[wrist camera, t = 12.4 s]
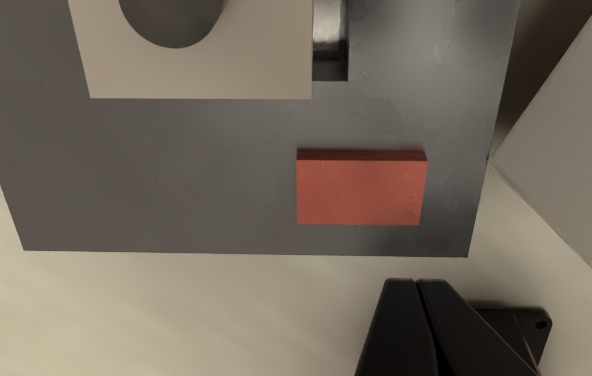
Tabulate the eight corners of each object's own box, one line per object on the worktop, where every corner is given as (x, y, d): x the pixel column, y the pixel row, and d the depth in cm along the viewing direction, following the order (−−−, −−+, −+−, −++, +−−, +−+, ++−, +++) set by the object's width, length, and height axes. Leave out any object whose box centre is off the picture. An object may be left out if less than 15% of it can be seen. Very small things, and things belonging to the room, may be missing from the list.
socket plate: (449, 209, 21) (471, 268, 18) (58, 204, 22) (16, 261, 19) (545, -338, 13) (617, -400, 10) (-99, -323, 13) (-224, -378, 10)
